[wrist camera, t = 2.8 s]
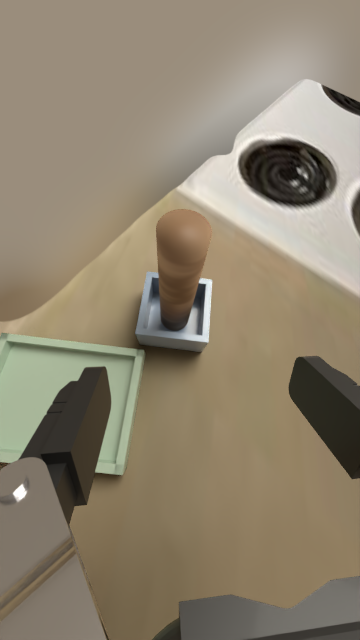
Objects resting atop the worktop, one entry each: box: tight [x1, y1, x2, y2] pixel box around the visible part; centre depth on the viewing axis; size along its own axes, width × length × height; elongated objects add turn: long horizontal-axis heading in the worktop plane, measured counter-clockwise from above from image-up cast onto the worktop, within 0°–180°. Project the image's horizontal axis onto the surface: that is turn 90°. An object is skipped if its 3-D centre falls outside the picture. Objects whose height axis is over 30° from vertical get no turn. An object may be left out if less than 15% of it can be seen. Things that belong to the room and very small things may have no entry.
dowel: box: [156, 209, 212, 331], centre depth 21 cm, size 4×4×15 cm
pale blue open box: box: [135, 272, 212, 352], centre depth 27 cm, size 8×8×4 cm
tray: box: [0, 333, 145, 475], centre depth 23 cm, size 16×12×2 cm
